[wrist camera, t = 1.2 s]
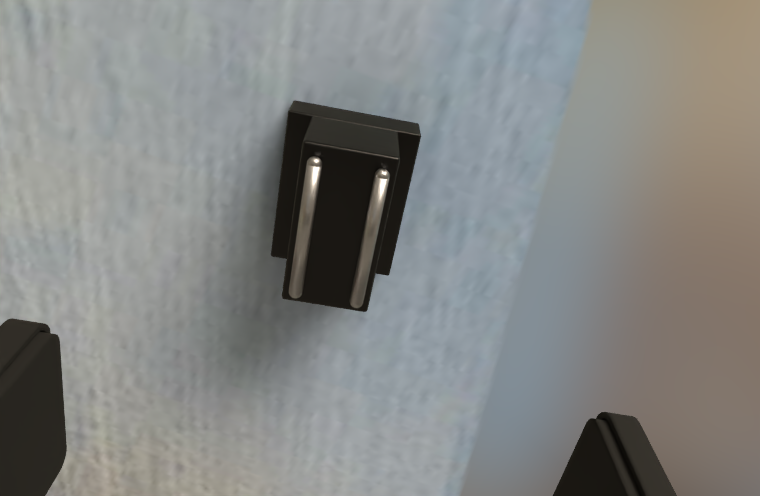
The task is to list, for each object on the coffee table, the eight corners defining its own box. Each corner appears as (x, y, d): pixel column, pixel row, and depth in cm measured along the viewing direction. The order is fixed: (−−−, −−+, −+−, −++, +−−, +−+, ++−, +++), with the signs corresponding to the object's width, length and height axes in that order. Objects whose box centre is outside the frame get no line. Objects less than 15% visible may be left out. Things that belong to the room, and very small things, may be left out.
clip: (293, 99, 19) (273, 140, 15) (419, 123, 19) (427, 168, 16) (275, 240, 21) (255, 303, 18) (388, 259, 22) (389, 324, 18)
